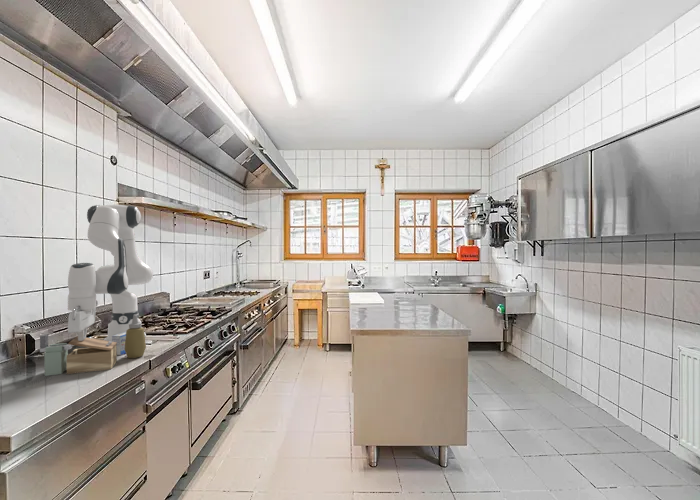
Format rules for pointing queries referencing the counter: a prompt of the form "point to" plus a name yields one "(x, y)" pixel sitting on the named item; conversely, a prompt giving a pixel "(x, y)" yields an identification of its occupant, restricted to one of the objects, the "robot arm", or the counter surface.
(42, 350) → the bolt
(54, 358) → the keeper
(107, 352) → the crate
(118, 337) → the medicine box
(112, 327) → the robot arm
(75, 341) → the lid
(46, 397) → the counter surface
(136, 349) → the squeeze bottle
